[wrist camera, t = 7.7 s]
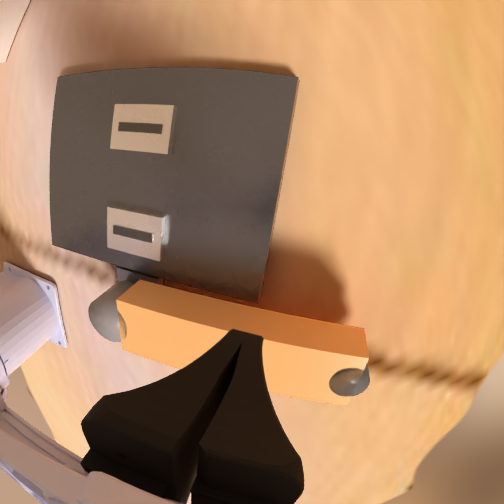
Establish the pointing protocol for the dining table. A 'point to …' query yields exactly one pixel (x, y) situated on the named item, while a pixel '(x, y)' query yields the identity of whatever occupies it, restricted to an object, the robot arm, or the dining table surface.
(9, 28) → the milk carton
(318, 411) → the dining table surface
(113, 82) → the server tray
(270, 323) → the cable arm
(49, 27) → the dining table surface
